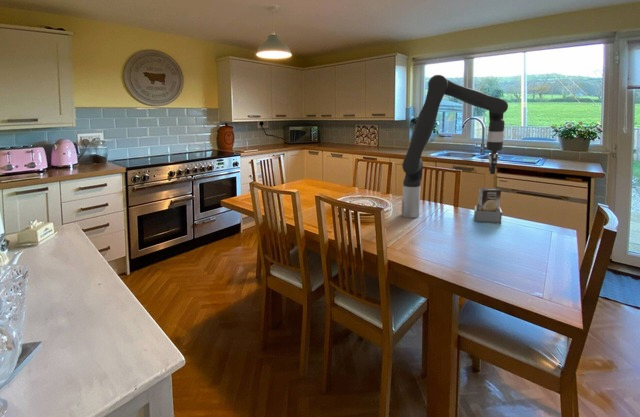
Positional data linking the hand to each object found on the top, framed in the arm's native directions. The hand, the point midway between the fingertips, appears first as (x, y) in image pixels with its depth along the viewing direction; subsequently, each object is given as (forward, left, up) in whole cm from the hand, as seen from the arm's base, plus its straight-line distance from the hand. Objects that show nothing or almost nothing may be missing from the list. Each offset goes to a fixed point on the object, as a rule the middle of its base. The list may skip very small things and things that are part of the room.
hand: (491, 172), depth 196 cm
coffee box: (0, 0, -25) cm, 25 cm away
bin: (0, 0, -26) cm, 26 cm away
